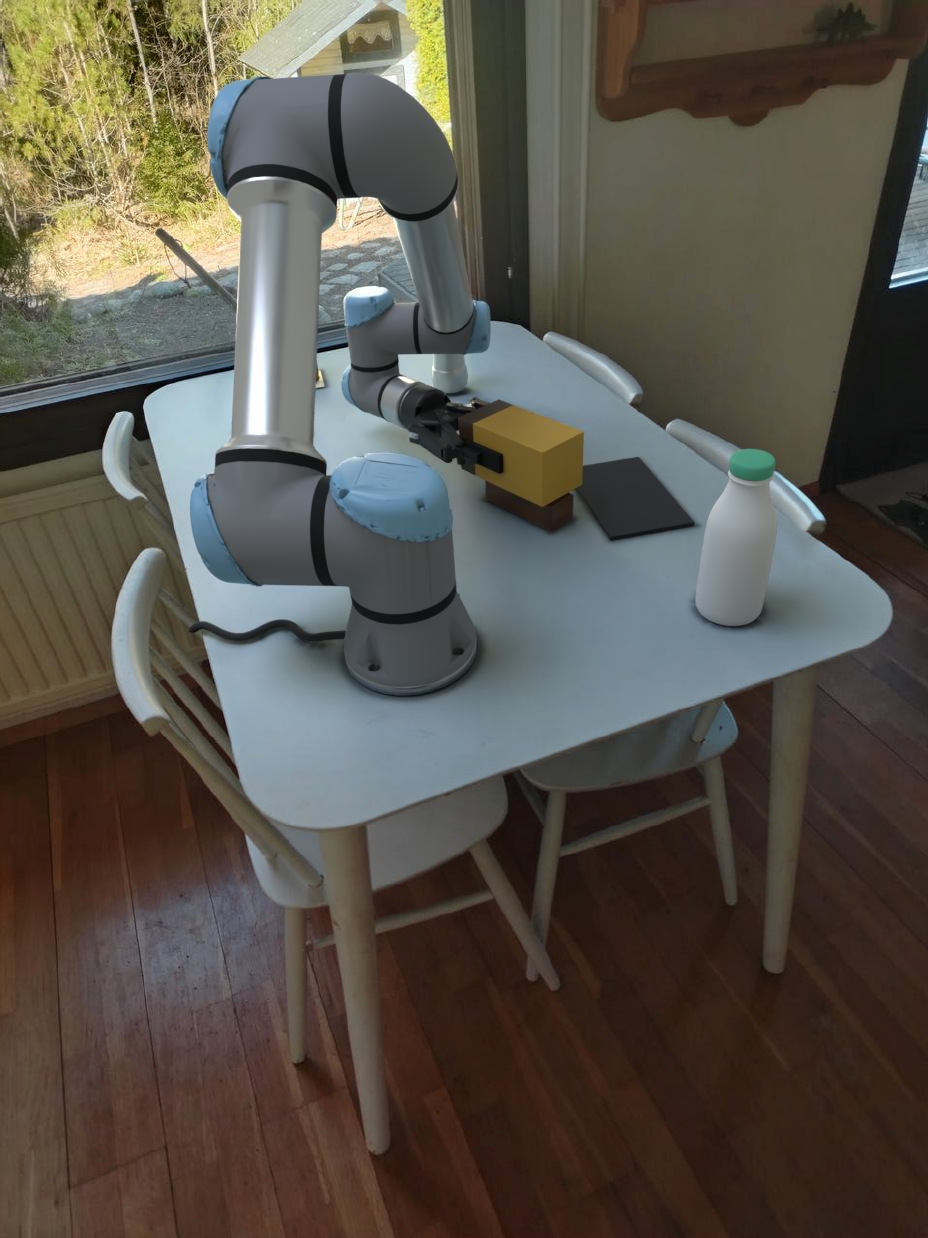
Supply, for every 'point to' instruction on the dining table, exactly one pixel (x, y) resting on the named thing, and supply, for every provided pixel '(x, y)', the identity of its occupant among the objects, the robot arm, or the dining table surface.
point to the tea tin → (526, 451)
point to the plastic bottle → (449, 372)
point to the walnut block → (532, 507)
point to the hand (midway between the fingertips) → (523, 452)
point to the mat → (629, 499)
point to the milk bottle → (739, 543)
